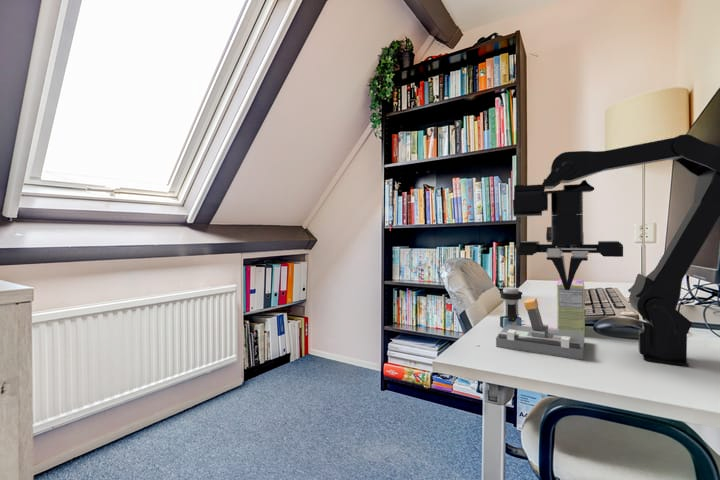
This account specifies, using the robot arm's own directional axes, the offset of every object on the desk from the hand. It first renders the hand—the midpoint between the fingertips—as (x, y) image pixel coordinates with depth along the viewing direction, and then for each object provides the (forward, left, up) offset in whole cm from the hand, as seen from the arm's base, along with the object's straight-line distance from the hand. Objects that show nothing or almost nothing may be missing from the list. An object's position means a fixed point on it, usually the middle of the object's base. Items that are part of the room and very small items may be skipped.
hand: (567, 289), depth 77 cm
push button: (+13, -12, -13) cm, 21 cm away
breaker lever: (+5, +1, -10) cm, 11 cm away
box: (0, -16, -13) cm, 20 cm away
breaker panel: (+5, 0, -12) cm, 13 cm away
